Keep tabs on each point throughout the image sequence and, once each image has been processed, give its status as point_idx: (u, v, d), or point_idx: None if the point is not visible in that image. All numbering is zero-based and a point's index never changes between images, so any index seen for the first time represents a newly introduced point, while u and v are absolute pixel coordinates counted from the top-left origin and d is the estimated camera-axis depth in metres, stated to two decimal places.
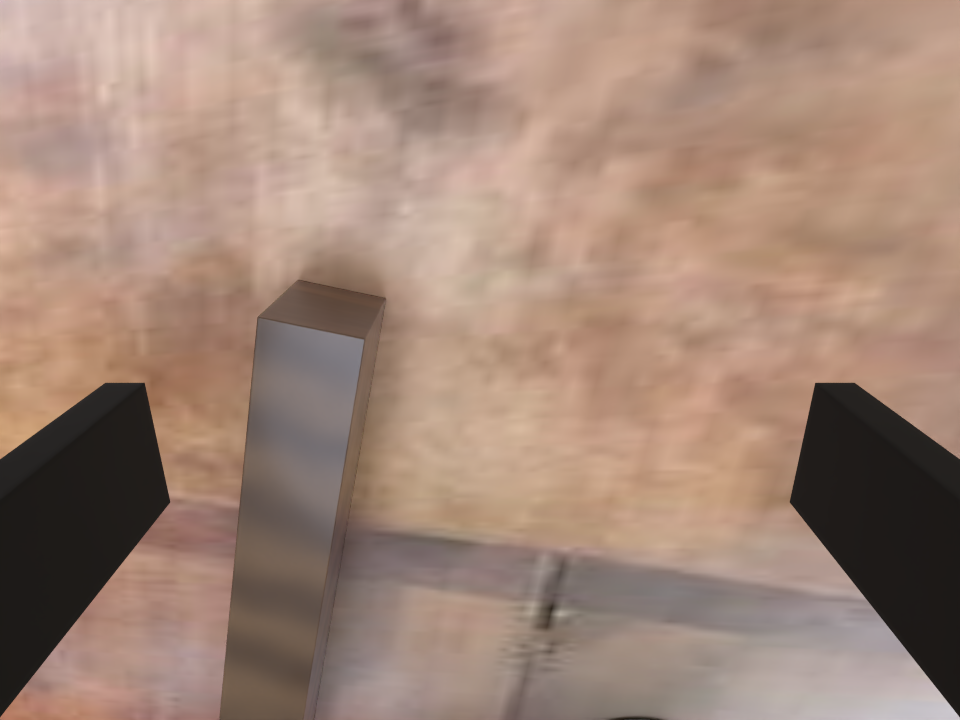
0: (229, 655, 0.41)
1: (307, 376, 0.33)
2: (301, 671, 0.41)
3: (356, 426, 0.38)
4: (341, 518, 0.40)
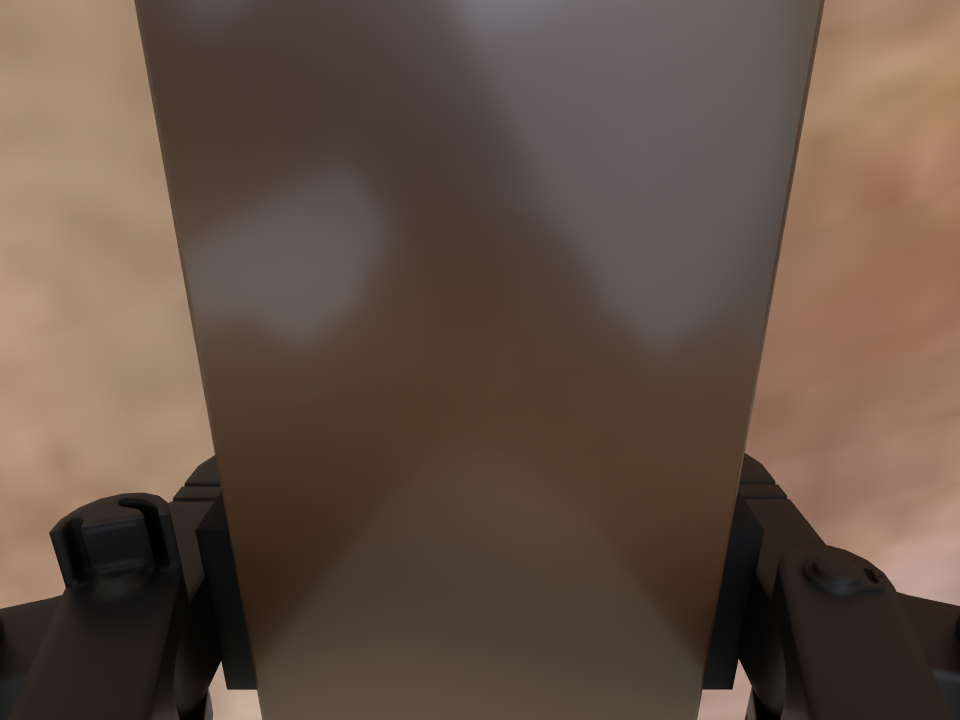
0: None
1: None
2: None
3: None
4: None
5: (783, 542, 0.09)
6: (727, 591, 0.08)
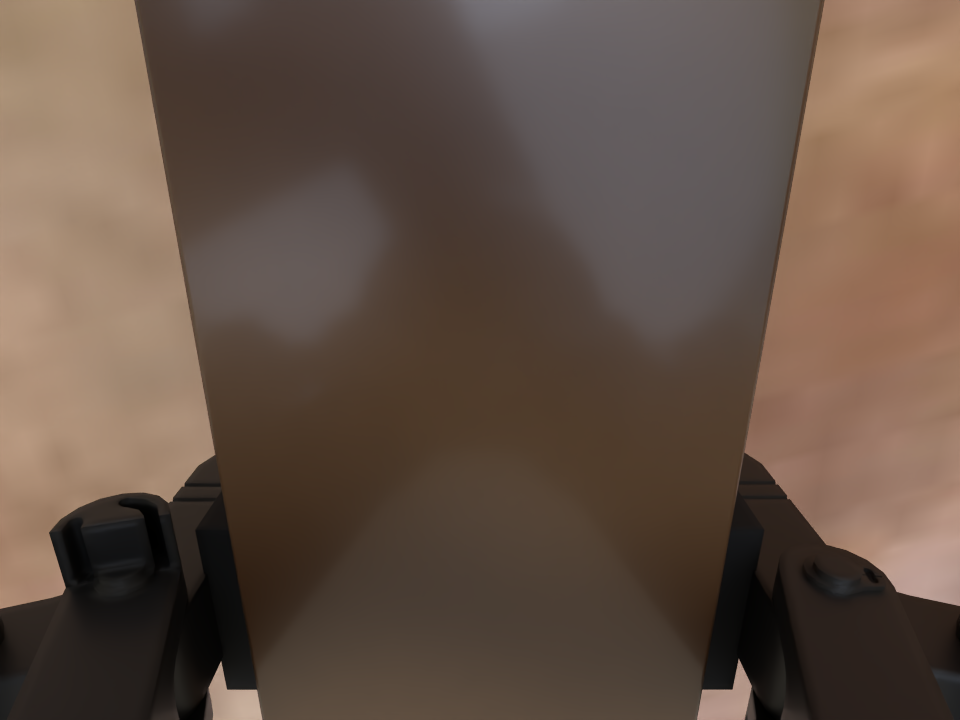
0: None
1: None
2: None
3: None
4: None
5: (783, 542, 0.09)
6: (727, 591, 0.08)
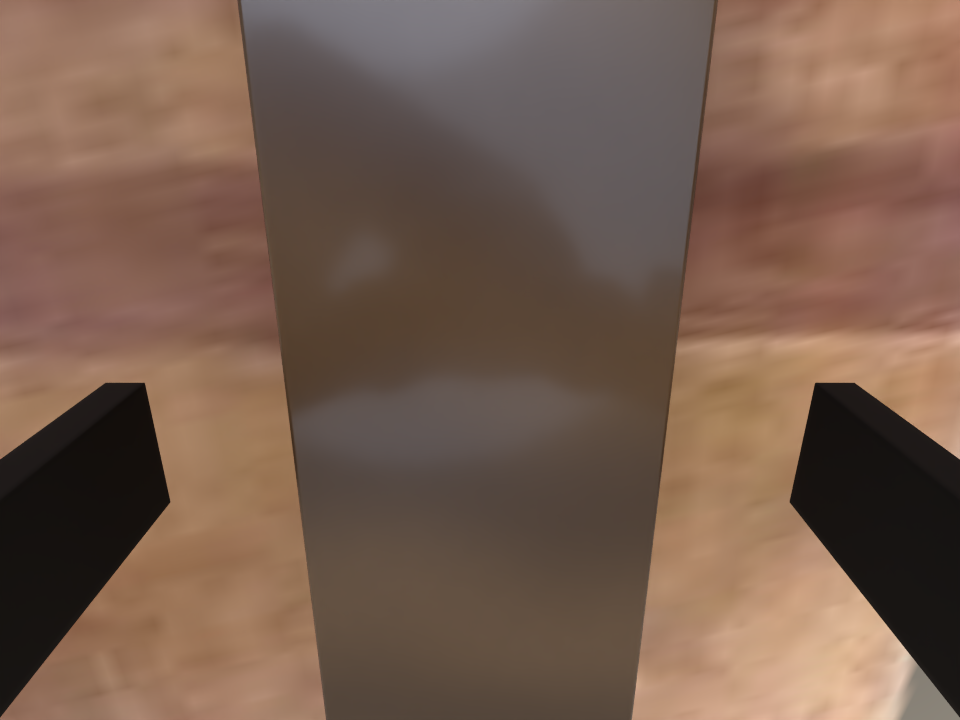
0: None
1: (472, 677, 0.11)
2: None
3: None
4: None
5: None
6: None
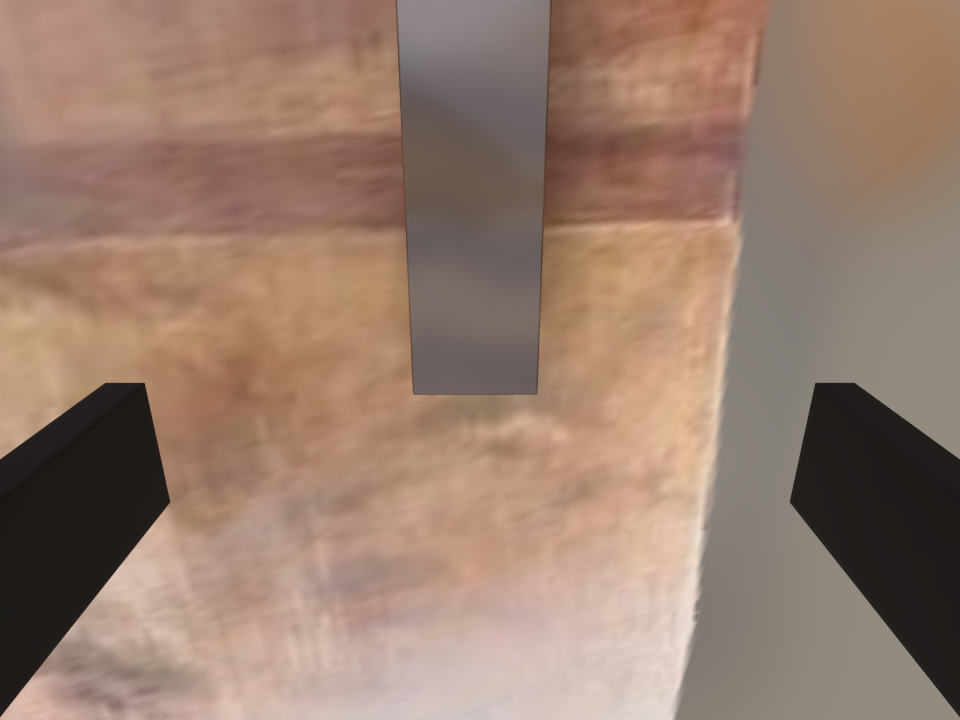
0: None
1: (472, 337, 0.27)
2: None
3: None
4: None
5: None
6: None
